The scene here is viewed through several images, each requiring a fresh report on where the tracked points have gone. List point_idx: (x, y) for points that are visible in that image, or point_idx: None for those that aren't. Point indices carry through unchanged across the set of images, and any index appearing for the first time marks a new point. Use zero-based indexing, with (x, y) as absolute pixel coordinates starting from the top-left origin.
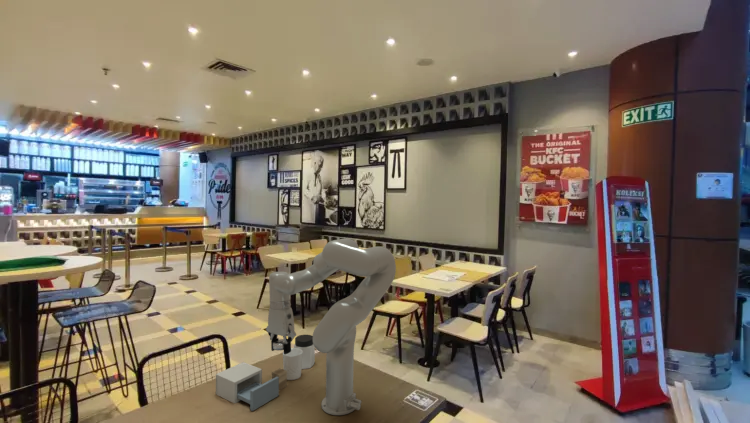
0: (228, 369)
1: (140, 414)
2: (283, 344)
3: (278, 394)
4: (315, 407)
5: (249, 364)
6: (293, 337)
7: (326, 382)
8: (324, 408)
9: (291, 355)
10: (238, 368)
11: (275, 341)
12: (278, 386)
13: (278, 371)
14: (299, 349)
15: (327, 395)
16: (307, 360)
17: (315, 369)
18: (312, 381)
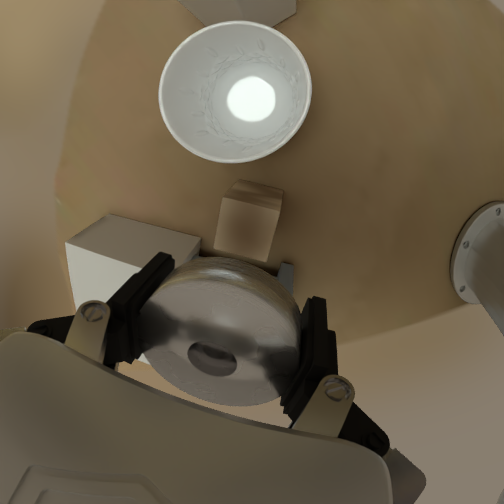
0: (79, 305)
1: None
2: (280, 404)
3: (293, 268)
4: (434, 282)
5: (95, 253)
6: (393, 463)
7: (499, 326)
8: (462, 298)
9: (203, 57)
10: (94, 292)
11: (149, 345)
12: (292, 284)
13: (240, 230)
14: (251, 26)
15: (483, 306)
16: (281, 5)
17: (325, 17)
18: (371, 120)
